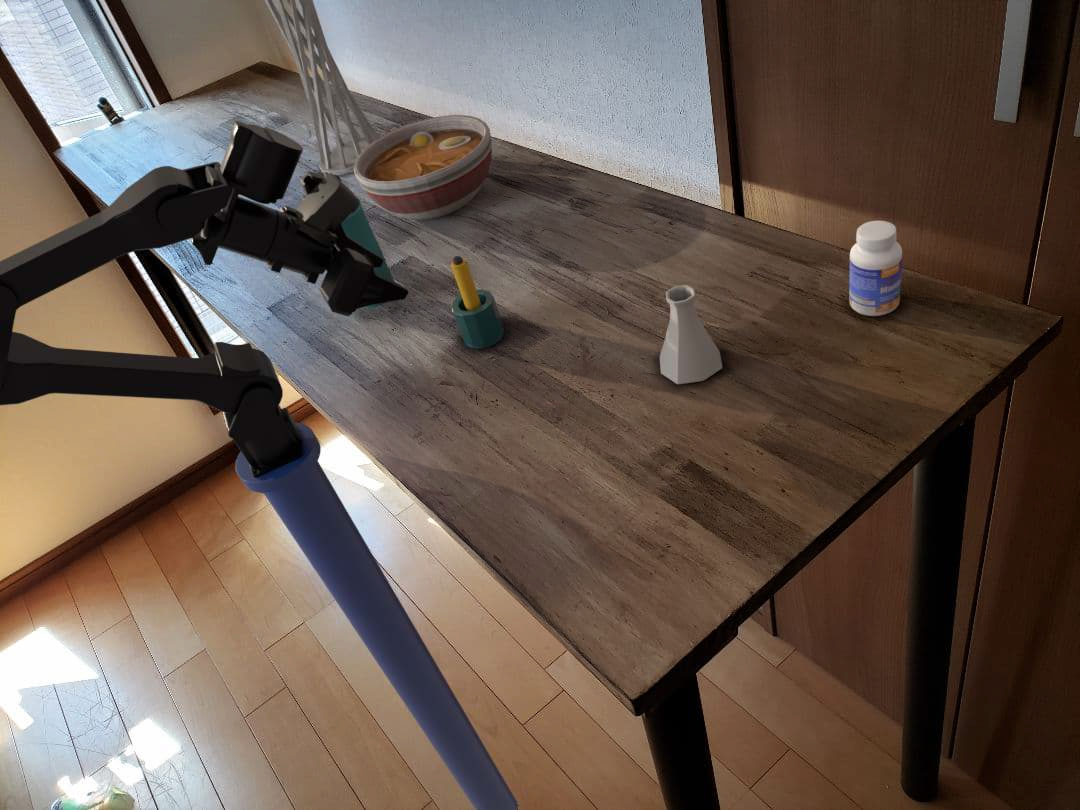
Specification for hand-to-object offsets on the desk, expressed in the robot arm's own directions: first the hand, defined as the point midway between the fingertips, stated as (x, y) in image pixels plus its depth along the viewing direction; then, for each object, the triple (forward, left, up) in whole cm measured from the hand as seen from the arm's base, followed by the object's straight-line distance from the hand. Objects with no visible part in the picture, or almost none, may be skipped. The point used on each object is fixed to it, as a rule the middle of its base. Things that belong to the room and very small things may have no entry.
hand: (393, 278), depth 99 cm
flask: (+26, -21, -13) cm, 36 cm away
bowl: (+15, +42, -13) cm, 46 cm away
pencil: (+8, +1, -13) cm, 15 cm away
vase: (+7, +74, -13) cm, 75 cm away
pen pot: (+8, +1, -13) cm, 16 cm away
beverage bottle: (-2, +19, -13) cm, 23 cm away
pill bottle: (+48, -25, -13) cm, 56 cm away
